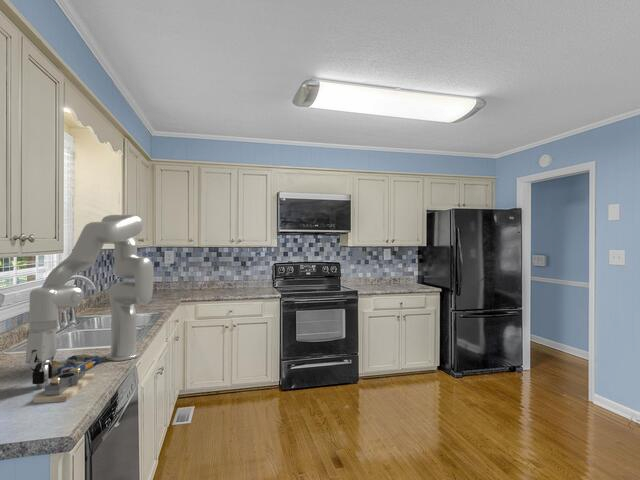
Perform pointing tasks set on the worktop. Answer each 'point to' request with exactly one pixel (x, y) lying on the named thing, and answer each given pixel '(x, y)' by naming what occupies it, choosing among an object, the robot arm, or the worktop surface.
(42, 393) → the ring socket base plate
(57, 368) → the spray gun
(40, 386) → the light bulb
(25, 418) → the worktop surface
